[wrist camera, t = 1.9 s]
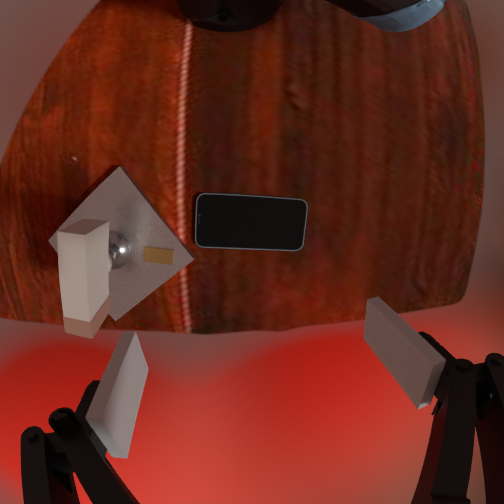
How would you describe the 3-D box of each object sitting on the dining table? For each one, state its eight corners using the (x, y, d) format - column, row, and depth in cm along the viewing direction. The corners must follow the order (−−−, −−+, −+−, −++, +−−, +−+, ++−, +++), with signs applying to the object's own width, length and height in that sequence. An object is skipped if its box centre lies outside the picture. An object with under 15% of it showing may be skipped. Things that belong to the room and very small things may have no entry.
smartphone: (302, 251, 41) (194, 247, 39) (300, 249, 42) (195, 245, 40) (308, 199, 39) (196, 192, 37) (306, 198, 40) (197, 191, 38)
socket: (52, 238, 37) (30, 250, 31) (123, 165, 35) (106, 166, 29) (118, 316, 42) (105, 338, 35) (194, 256, 40) (191, 272, 34)
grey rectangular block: (88, 215, 30) (56, 231, 23) (114, 218, 31) (86, 235, 23) (90, 300, 33) (65, 332, 26) (114, 304, 34) (92, 338, 26)
